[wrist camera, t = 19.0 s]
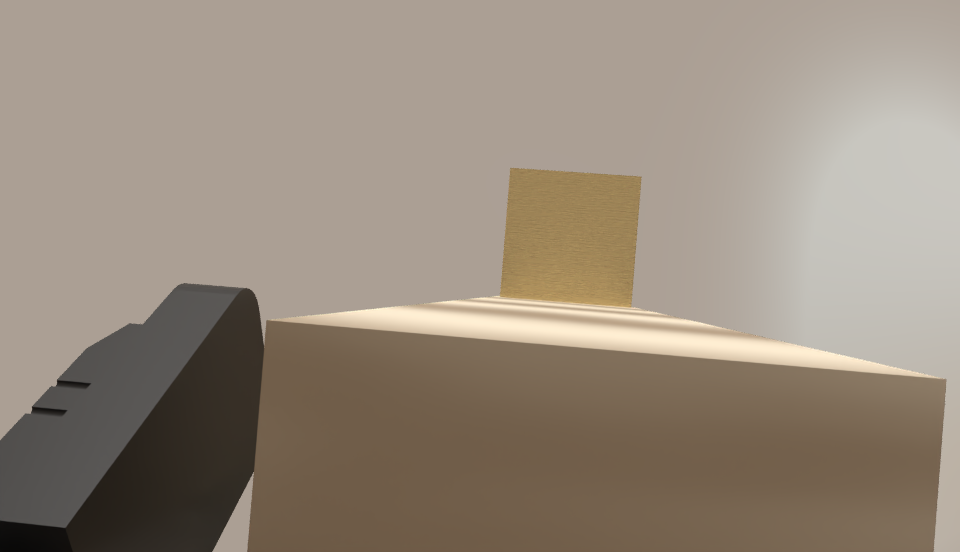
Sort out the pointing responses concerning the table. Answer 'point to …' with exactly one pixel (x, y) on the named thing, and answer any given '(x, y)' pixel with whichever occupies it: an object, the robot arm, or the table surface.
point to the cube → (570, 237)
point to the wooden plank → (582, 436)
